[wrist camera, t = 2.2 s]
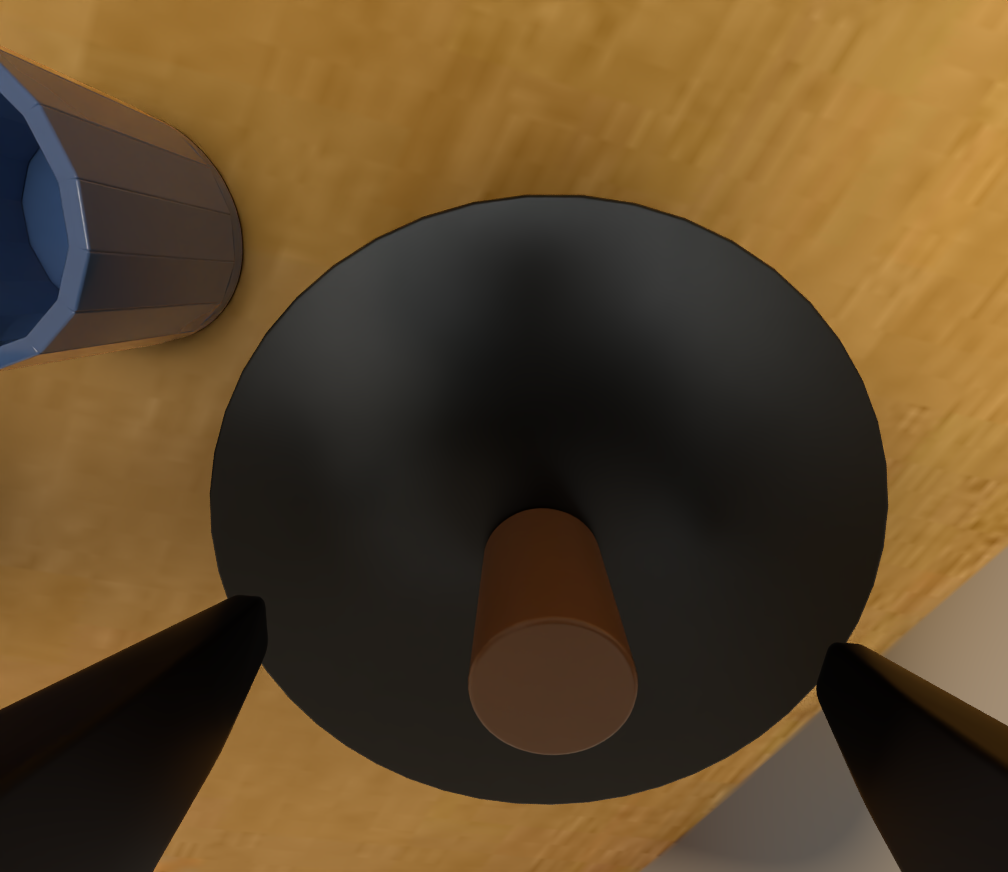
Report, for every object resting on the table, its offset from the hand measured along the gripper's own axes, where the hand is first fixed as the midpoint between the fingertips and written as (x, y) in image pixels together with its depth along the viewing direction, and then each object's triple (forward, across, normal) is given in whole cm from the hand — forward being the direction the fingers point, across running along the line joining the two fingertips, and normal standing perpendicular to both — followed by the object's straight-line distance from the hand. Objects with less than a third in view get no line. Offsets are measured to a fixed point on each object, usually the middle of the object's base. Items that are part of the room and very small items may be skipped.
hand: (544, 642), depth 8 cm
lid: (+3, 0, 0) cm, 3 cm away
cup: (+8, +12, -6) cm, 16 cm away
